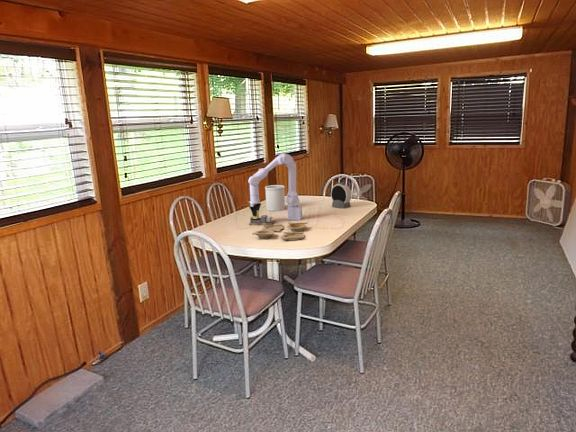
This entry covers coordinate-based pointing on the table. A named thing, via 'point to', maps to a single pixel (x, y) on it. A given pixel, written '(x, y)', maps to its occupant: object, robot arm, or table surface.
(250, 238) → the table surface
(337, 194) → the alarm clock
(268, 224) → the board
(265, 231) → the tableware set
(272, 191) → the utensil holder
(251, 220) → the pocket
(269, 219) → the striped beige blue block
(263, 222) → the block
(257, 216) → the block
